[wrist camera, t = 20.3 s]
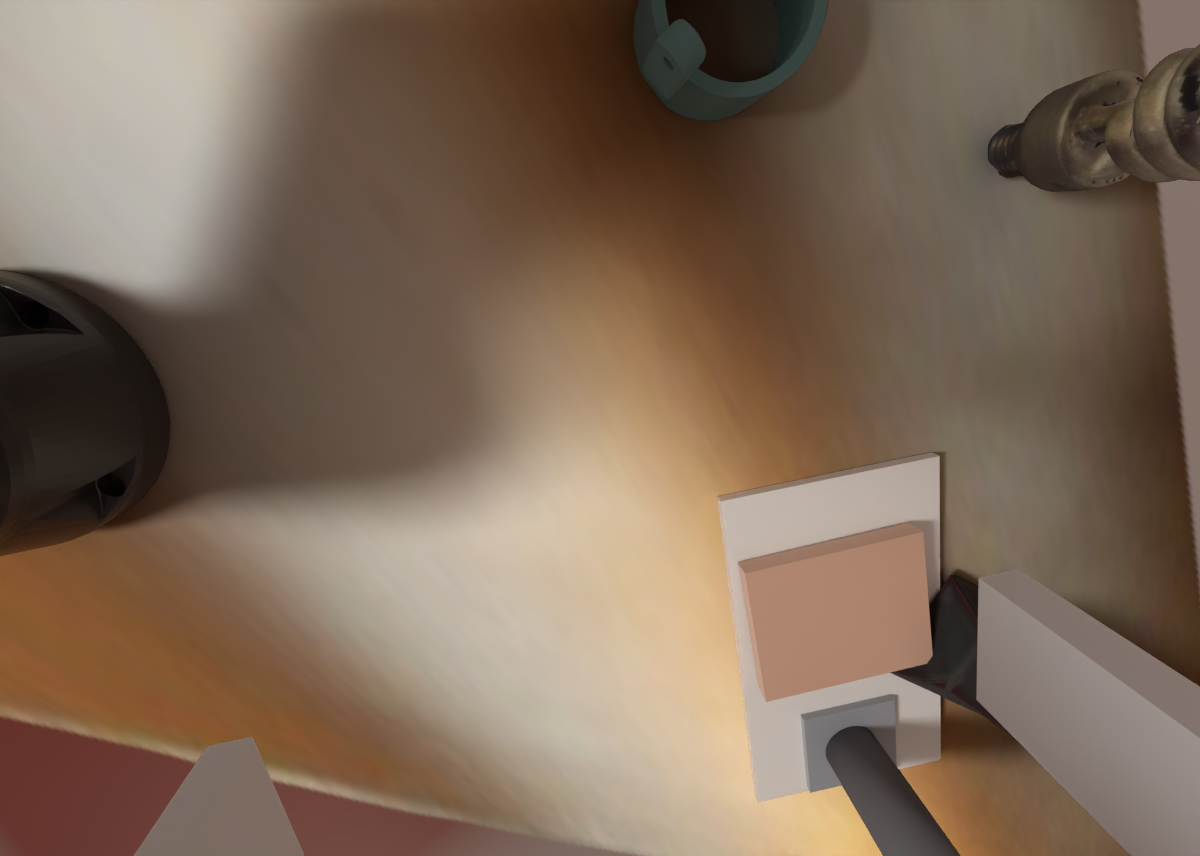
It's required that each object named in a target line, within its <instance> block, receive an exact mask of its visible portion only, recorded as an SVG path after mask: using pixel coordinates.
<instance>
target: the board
mask: <svg viewBox="0 0 1200 856" xmlns="http://www.w3.org/2000/svg"><path fill="white" fill-rule="evenodd" d="M717 499H718V507H719V515H720V523H721V531H722V539H723V547H724V555H725V563H726V571H727V578H728V586H729V594H730V602H731V610H732V618H733V626H734V634H735V642H736V650H737V658H738V666H739V674H740V682H741V690H742V698H743V706H744V714H745V722H746V730H747V738H748V746H749V754H750V762H751V769H752V777H753V785H754V793H755V796H756V798H757V801H758V802H762V801H766V800H770V799H774V798H779V797H783V796H787V795H792V794H796V793H800V792H804V791H810V793H811V792H815V791H819V790H824V789H828V788H832V787H836V786H841V785H842V784H841V783H840V781H839V779H838V777H837V776H836V774H835V772H834V771H833V769H832V767H831V765H830V764H829V762H828V760H827V758H826V746H827V744H828V742H829V740H830V739H831V738H832V736H833V735H834V734H836V733H837V732H838V731H840V730H842V729H844V728H847V727H851V726H861V727H865V728H867V729H869V730H870V731H871V732H872V733H873V734H874V736H875V737H876V738H877V740H878V741H879V743H880V744H881V745H882V747H883V748H884V750H885V751H886V752H887V754H888V755H889V757H890V758H891V759H892V761H893V762H894V764H895V765H896V766H897V768H898V769H903V768H907V767H911V766H915V765H920V764H924V763H928V762H932V761H937V760H941V706H940V695H937V694H935V693H933V692H931V691H929V690H926V689H924V688H922V687H920V686H918V685H916V684H913V683H911V682H909V681H907V680H905V679H902V678H900V677H898V676H896V675H894V674H892V673H886V674H882V675H877V676H873V677H869V678H865V679H861V680H856V681H852V682H848V683H844V684H840V685H836V686H831V687H827V688H823V689H819V690H815V691H810V692H806V693H802V694H798V695H794V696H790V697H785V698H781V699H777V700H773V701H769V702H766V701H765V699H764V697H763V695H762V693H761V691H760V689H759V687H758V683H757V677H756V671H755V665H754V659H753V653H752V647H751V640H750V634H749V628H748V622H747V616H746V610H745V604H744V598H743V592H742V586H741V580H740V574H739V568H738V562H741V561H745V560H749V559H754V558H758V557H762V556H767V555H771V554H775V553H780V552H784V551H788V550H792V549H797V548H801V547H805V546H810V545H814V544H818V543H823V542H827V541H831V540H836V539H840V538H844V537H848V536H853V535H857V534H861V533H866V532H870V531H874V530H879V529H883V528H887V527H892V526H896V525H900V524H904V523H910V524H912V525H913V526H915V527H916V528H918V529H919V530H921V531H922V532H923V536H924V549H925V562H926V575H927V588H928V600H929V605H930V603H931V602H932V600H933V599H934V598H935V596H936V595H937V594H938V592H939V591H940V456H938V455H936V454H934V453H932V452H931V453H926V454H921V455H916V456H911V457H906V458H902V459H897V460H892V461H887V462H882V463H877V464H873V465H868V466H863V467H858V468H853V469H848V470H844V471H839V472H834V473H829V474H824V475H819V476H815V477H810V478H805V479H800V480H795V481H790V482H786V483H781V484H776V485H771V486H766V487H761V488H757V489H752V490H747V491H742V492H737V493H732V494H727V495H723V496H718V497H717Z"/></svg>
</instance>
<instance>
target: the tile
mask: <svg viewBox="0 0 1200 856" xmlns="http://www.w3.org/2000/svg"><path fill="white" fill-rule="evenodd" d="M738 568H739V574H740V580H741V586H742V592H743V598H744V604H745V610H746V616H747V622H748V628H749V634H750V640H751V647H752V653H753V659H754V665H755V671H756V677H757V683H758V687H759V689H760V691H761V693H762V695H763V697H764V699H765V701H766V702H769V701H773V700H777V699H781V698H785V697H790V696H794V695H798V694H802V693H806V692H810V691H815V690H819V689H823V688H827V687H831V686H836V685H840V684H844V683H848V682H852V681H856V680H861V679H865V678H869V677H873V676H877V675H882V674H886V673H890V672H894V671H898V670H903V669H907V668H911V667H915V666H919V665H923V664H927V663H928V661H929V660H930V659H931V657H932V656H933V652H932V639H931V626H930V613H929V600H928V588H927V575H926V562H925V549H924V536H923V532H922V531H921V530H919V529H918V528H916V527H915V526H913V525H912V524H910V523H904V524H900V525H896V526H892V527H887V528H883V529H879V530H874V531H870V532H866V533H861V534H857V535H853V536H848V537H844V538H840V539H836V540H831V541H827V542H823V543H818V544H814V545H810V546H805V547H801V548H797V549H792V550H788V551H784V552H780V553H775V554H771V555H767V556H762V557H758V558H754V559H749V560H745V561H741V562H738Z"/></svg>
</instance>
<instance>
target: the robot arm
mask: <svg viewBox="0 0 1200 856" xmlns="http://www.w3.org/2000/svg"><path fill="white" fill-rule="evenodd" d="M168 443H169V416H168V409H167V404H166V400H165V397H164V393H163V390H162V388H161V385H160V382H159V380H158V378H157V376H156V374H155V372H154V370H153V368H152V366H151V364H150V363H149V361H148V359H147V358H146V356H145V355H144V353H143V352H142V351H141V349H140V348H139V346H138V345H137V344H136V343H135V342H134V340H133V339H132V338H131V337H130V336H129V335H128V334H127V333H126V331H125V330H124V329H123V328H122V327H121V326H119V325H118V324H117V323H116V322H115V321H114V320H113V319H112V318H111V317H109V316H108V315H107V314H106V313H105V312H103V311H102V310H100V309H99V308H98V307H96V306H95V305H93V304H92V303H90V302H89V301H87V300H86V299H84V298H82V297H81V296H79V295H77V294H75V293H73V292H71V291H69V290H67V289H65V288H63V287H61V286H58V285H56V284H54V283H51V282H48V281H46V280H43V279H40V278H36V277H33V276H29V275H25V274H20V273H16V272H9V271H1V270H0V556H3V555H8V554H13V553H18V552H22V551H27V550H32V549H37V548H42V547H47V546H52V545H56V544H60V543H64V542H67V541H70V540H73V539H75V538H78V537H81V536H83V535H86V534H88V533H90V532H92V531H94V530H96V529H98V528H99V527H101V526H103V525H104V524H106V523H108V522H109V521H111V520H112V519H114V518H116V517H117V516H119V515H121V514H122V513H124V512H125V511H127V510H128V509H130V508H131V507H132V506H133V505H135V504H136V503H137V502H138V501H139V500H140V499H141V498H142V497H143V496H144V495H145V494H146V493H147V492H148V490H149V489H150V488H151V486H152V485H153V484H154V482H155V480H156V479H157V477H158V475H159V473H160V471H161V469H162V466H163V464H164V461H165V458H166V454H167V450H168ZM976 700H977V701H978V702H979V703H980V704H981V705H982V706H983V707H984V708H985V709H986V710H987V711H988V712H989V713H990V714H991V715H992V716H993V717H994V718H995V719H996V720H997V721H998V722H999V723H1000V724H1001V725H1002V726H1003V727H1004V728H1005V729H1006V730H1007V731H1008V732H1009V733H1010V734H1011V735H1012V736H1013V737H1014V738H1015V739H1016V740H1017V741H1018V742H1019V743H1020V744H1021V745H1022V746H1023V747H1024V748H1025V749H1026V750H1027V751H1028V752H1029V753H1030V754H1031V755H1032V756H1033V757H1034V758H1035V759H1036V760H1037V761H1038V762H1039V763H1040V764H1041V765H1042V766H1043V767H1044V768H1045V769H1046V770H1047V771H1048V772H1049V773H1050V774H1051V775H1052V776H1053V777H1054V778H1055V779H1056V780H1057V781H1058V782H1059V783H1060V784H1061V785H1062V786H1063V787H1064V788H1065V789H1066V790H1067V791H1068V792H1069V793H1070V794H1071V795H1072V796H1073V797H1074V798H1075V799H1076V800H1077V801H1078V802H1079V803H1080V804H1081V805H1082V806H1083V807H1084V808H1085V809H1086V810H1087V811H1088V812H1089V813H1090V814H1091V815H1092V816H1093V817H1094V818H1095V819H1096V820H1097V821H1098V822H1099V823H1100V824H1101V825H1102V826H1103V827H1104V828H1105V829H1106V830H1107V832H1108V833H1109V834H1110V835H1111V836H1112V837H1113V838H1114V839H1115V840H1116V841H1117V842H1118V843H1119V844H1120V845H1121V846H1122V847H1123V848H1124V849H1125V850H1126V851H1127V852H1128V853H1129V854H1130V855H1131V856H1200V687H1199V686H1198V685H1196V684H1195V683H1193V682H1192V681H1190V680H1189V679H1187V678H1186V677H1184V676H1182V675H1181V674H1179V673H1178V672H1176V671H1175V670H1173V669H1172V668H1170V667H1169V666H1167V665H1165V664H1164V663H1162V662H1161V661H1159V660H1158V659H1156V658H1155V657H1153V656H1152V655H1150V654H1149V653H1147V652H1145V651H1144V650H1142V649H1141V648H1139V647H1138V646H1136V645H1135V644H1133V643H1132V642H1130V641H1128V640H1127V639H1125V638H1124V637H1122V636H1121V635H1119V634H1118V633H1116V632H1115V631H1113V630H1111V629H1110V628H1108V627H1107V626H1105V625H1104V624H1102V623H1101V622H1099V621H1098V620H1096V619H1095V618H1093V617H1091V616H1090V615H1088V614H1087V613H1085V612H1084V611H1082V610H1081V609H1079V608H1078V607H1076V606H1074V605H1073V604H1071V603H1070V602H1068V601H1067V600H1065V599H1064V598H1062V597H1061V596H1059V595H1058V594H1056V593H1054V592H1053V591H1051V590H1050V589H1048V588H1047V587H1045V586H1044V585H1042V584H1041V583H1039V582H1037V581H1036V580H1034V579H1033V578H1031V577H1030V576H1028V575H1027V574H1025V573H1024V572H1022V571H1020V570H1019V569H1016V570H1012V571H1007V572H1003V573H998V574H994V575H989V576H984V577H980V578H979V585H978V640H977V695H976ZM303 855H304V854H303V851H302V849H301V847H300V844H299V842H298V840H297V837H296V835H295V833H294V831H293V829H292V826H291V824H290V821H289V819H288V817H287V815H286V812H285V810H284V808H283V805H282V803H281V801H280V799H279V796H278V794H277V792H276V790H275V787H274V785H273V783H272V780H271V778H270V776H269V774H268V771H267V769H266V767H265V764H264V762H263V760H262V758H261V755H260V753H259V751H258V748H257V746H256V744H255V742H254V739H253V737H249V738H244V739H240V740H235V741H231V742H226V743H221V744H217V745H212V746H208V747H207V748H206V749H205V750H204V752H203V753H202V755H201V756H200V758H199V759H198V761H197V762H196V764H195V765H194V767H193V768H192V770H191V771H190V773H189V775H188V776H187V777H186V779H185V781H184V782H183V783H182V785H181V786H180V788H179V789H178V791H177V792H176V794H175V795H174V797H173V798H172V800H171V801H170V803H169V804H168V806H167V807H166V809H165V810H164V812H163V813H162V815H161V816H160V818H159V819H158V821H157V822H156V824H155V825H154V827H153V828H152V830H151V831H150V833H149V834H148V836H147V837H146V838H145V840H144V841H143V843H142V844H141V846H140V847H139V849H138V850H137V852H136V854H135V855H134V856H303Z"/></svg>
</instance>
